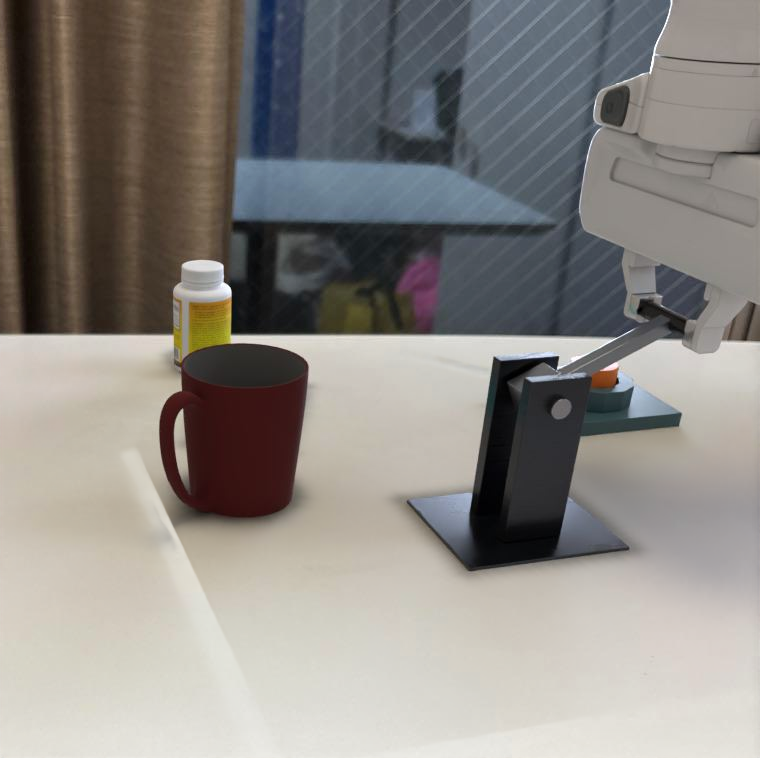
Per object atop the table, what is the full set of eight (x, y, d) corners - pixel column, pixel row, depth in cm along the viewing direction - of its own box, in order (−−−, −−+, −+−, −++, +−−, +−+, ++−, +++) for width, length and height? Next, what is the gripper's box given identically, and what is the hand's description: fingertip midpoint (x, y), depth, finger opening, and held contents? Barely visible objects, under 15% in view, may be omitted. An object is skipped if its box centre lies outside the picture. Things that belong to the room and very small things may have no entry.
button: (598, 371, 93) (602, 353, 92) (624, 388, 90) (628, 368, 89) (558, 375, 92) (562, 356, 91) (583, 391, 89) (587, 372, 88)
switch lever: (658, 320, 71) (653, 290, 70) (706, 344, 67) (700, 312, 66) (504, 402, 71) (496, 374, 70) (542, 431, 67) (534, 401, 66)
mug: (209, 563, 70) (210, 411, 65) (124, 517, 76) (119, 373, 70) (324, 506, 78) (335, 366, 72) (240, 468, 83) (244, 335, 78)
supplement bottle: (241, 368, 103) (244, 264, 98) (204, 383, 99) (205, 276, 94) (199, 355, 106) (200, 254, 101) (161, 369, 102) (160, 265, 97)
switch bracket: (549, 496, 80) (581, 335, 73) (626, 562, 71) (669, 386, 65) (405, 513, 77) (424, 347, 71) (467, 584, 69) (495, 402, 62)
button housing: (610, 394, 98) (618, 353, 96) (676, 436, 90) (687, 393, 88) (495, 405, 96) (502, 363, 94) (552, 449, 87) (561, 405, 85)
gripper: (904, 137, 54) (823, 386, 61) (663, 89, 71) (621, 288, 78) (803, 140, 53) (732, 395, 60) (581, 90, 70) (546, 293, 77)
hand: (667, 334), depth 69 cm, fingers closed on switch lever, 5 cm apart
